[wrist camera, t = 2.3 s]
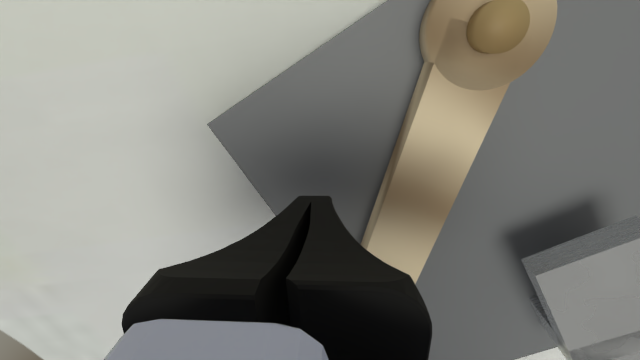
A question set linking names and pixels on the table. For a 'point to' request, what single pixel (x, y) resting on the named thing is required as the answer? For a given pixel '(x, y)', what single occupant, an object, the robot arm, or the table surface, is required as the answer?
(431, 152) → the link
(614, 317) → the block
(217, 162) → the table surface
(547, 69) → the board
